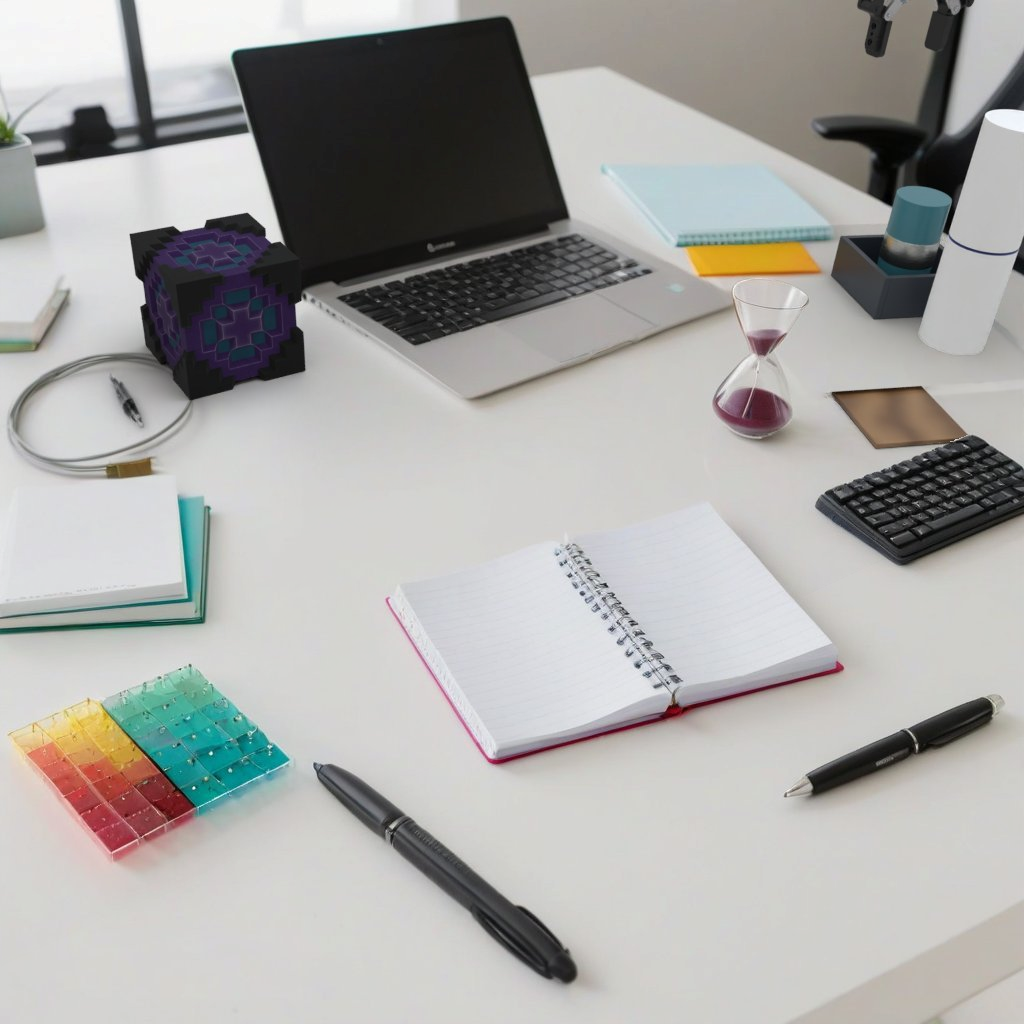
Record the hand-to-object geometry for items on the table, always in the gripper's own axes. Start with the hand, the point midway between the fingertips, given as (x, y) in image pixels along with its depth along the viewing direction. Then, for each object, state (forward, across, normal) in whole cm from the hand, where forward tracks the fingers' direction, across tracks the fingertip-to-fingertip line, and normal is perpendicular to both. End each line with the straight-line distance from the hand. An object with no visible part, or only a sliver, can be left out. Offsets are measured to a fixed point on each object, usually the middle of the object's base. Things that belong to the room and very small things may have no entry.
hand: (904, 52), depth 123 cm
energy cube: (+27, -74, +10) cm, 79 cm away
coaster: (+27, -16, -26) cm, 41 cm away
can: (+26, +2, -6) cm, 27 cm away
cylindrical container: (+27, 0, -17) cm, 32 cm away
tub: (+27, +2, -6) cm, 28 cm away
